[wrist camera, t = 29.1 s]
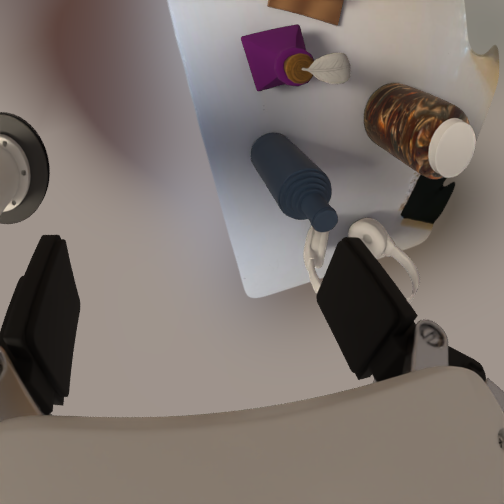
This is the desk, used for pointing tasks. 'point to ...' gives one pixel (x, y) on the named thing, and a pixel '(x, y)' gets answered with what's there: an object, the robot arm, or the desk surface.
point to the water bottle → (294, 181)
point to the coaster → (311, 8)
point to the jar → (420, 130)
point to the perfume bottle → (290, 60)
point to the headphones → (371, 237)
